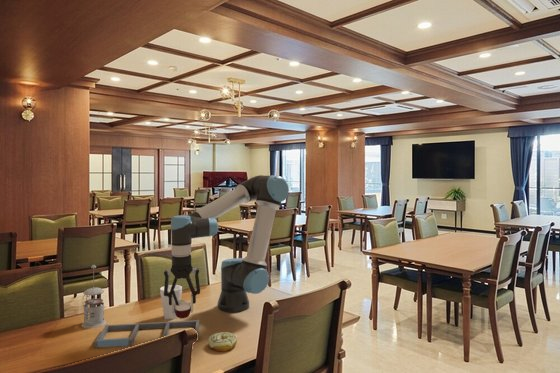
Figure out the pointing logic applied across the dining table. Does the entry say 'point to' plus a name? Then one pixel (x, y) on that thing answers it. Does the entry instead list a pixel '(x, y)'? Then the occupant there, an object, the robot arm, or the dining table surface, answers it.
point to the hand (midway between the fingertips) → (182, 311)
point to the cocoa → (181, 307)
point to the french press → (93, 308)
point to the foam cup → (165, 301)
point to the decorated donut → (222, 341)
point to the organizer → (135, 327)
